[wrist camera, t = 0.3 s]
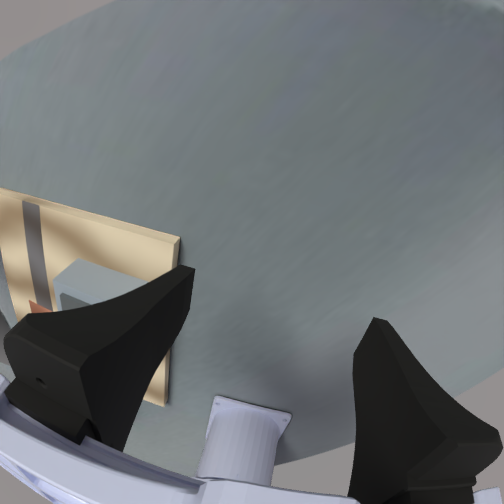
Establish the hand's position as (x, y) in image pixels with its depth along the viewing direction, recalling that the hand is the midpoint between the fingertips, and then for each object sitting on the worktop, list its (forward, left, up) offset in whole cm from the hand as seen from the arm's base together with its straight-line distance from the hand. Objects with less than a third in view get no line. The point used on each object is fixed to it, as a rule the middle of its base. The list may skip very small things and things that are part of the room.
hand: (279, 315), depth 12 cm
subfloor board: (-13, +17, -10) cm, 24 cm away
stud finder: (-9, +12, -9) cm, 18 cm away
